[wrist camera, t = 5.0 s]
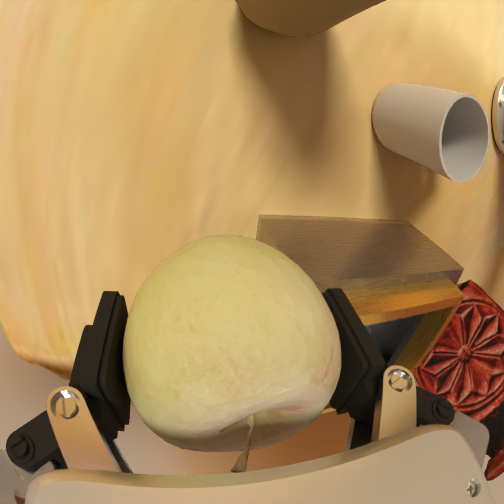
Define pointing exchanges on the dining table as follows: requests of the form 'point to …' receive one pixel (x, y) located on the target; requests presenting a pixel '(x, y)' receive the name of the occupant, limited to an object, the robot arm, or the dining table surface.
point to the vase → (472, 368)
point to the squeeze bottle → (301, 14)
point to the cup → (433, 128)
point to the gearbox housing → (376, 277)
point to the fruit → (229, 348)
